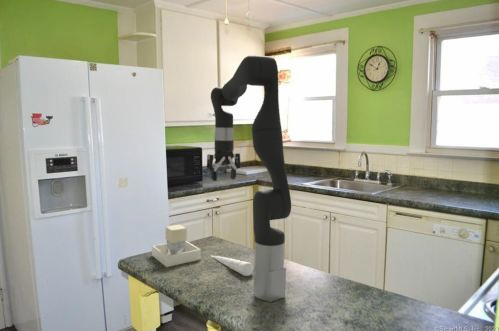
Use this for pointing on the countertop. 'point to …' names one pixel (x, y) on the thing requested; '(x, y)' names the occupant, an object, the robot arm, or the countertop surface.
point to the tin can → (175, 248)
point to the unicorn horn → (236, 265)
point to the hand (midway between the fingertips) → (223, 179)
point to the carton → (176, 233)
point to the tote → (188, 256)
